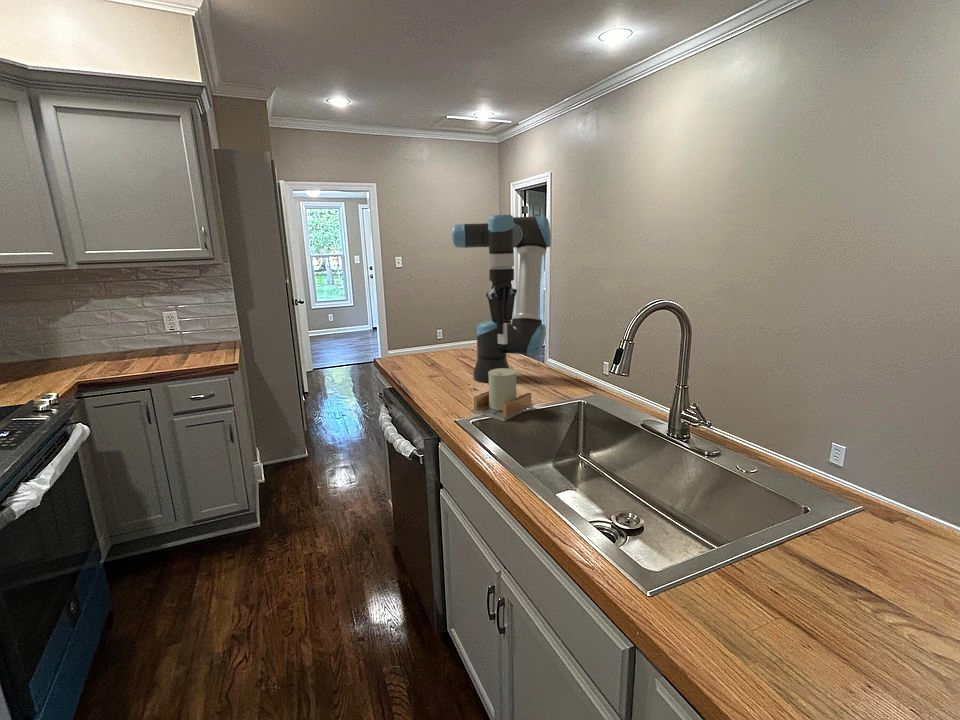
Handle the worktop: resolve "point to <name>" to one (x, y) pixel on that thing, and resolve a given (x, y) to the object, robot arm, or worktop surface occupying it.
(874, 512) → the worktop surface
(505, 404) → the rail holder
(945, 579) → the worktop surface
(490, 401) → the can
